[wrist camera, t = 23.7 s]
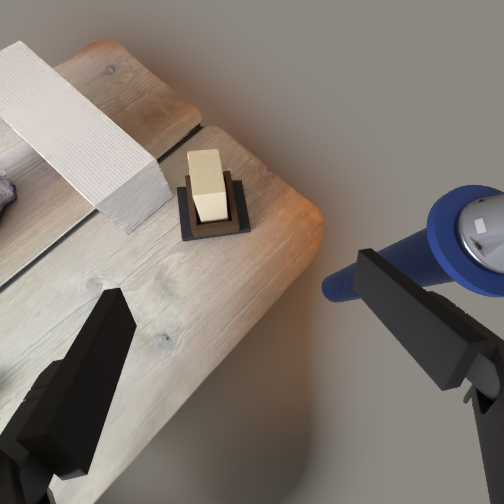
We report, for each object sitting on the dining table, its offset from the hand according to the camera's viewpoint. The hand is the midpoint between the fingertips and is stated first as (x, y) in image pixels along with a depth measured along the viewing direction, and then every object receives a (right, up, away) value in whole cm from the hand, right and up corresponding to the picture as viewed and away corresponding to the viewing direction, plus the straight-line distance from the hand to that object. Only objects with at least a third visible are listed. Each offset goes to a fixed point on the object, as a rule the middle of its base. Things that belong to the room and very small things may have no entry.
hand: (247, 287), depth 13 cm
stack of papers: (-30, +19, +33) cm, 48 cm away
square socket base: (-7, +10, +31) cm, 33 cm away
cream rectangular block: (-7, +10, +30) cm, 32 cm away
